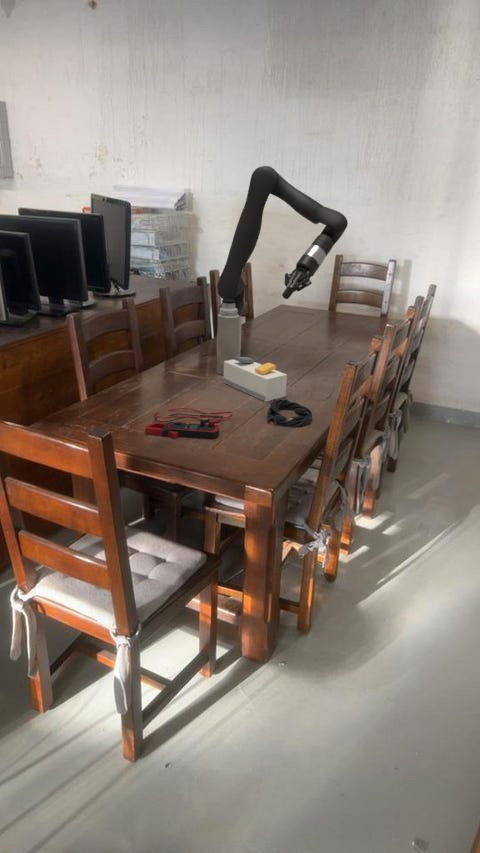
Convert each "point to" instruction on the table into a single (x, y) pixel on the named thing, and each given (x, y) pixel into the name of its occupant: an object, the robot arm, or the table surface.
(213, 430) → the digital clamp meter
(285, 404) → the cable
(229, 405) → the table surface
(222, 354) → the thermos bottle
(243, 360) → the flat grey slab box
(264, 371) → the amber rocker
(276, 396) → the switch box
